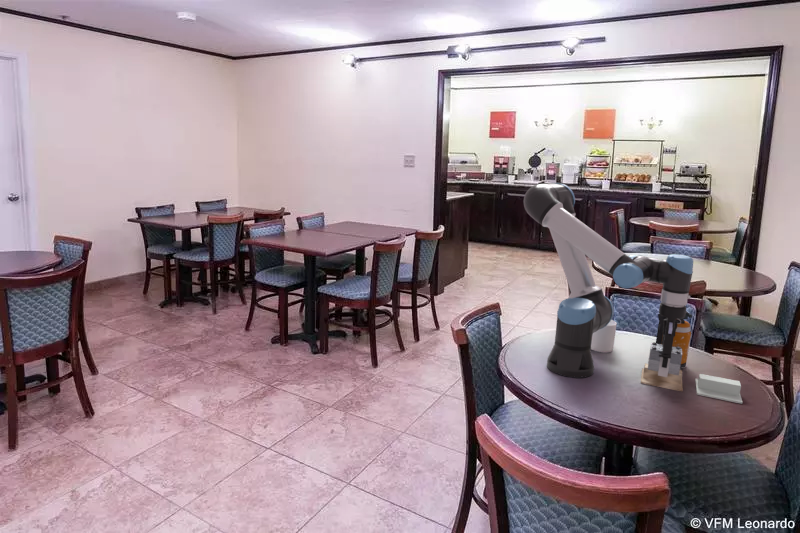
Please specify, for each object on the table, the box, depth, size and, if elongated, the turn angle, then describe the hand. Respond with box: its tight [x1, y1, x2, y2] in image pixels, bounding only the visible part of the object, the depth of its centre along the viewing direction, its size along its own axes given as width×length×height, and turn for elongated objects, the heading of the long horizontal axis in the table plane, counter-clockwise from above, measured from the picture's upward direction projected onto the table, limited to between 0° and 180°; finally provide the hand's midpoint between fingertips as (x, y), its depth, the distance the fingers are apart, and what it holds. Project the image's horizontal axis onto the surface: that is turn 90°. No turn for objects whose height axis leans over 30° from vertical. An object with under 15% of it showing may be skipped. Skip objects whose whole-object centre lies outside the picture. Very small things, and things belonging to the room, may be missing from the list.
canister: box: [655, 310, 693, 369], centre depth 186 cm, size 9×11×20 cm
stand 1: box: [640, 362, 684, 392], centre depth 175 cm, size 12×12×4 cm
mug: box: [591, 319, 618, 354], centre depth 201 cm, size 9×12×11 cm
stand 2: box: [694, 373, 743, 405], centre depth 168 cm, size 12×12×4 cm
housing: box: [647, 341, 682, 375], centre depth 174 cm, size 9×6×7 cm
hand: (662, 371), depth 175 cm, fingers closed on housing, 6 cm apart
